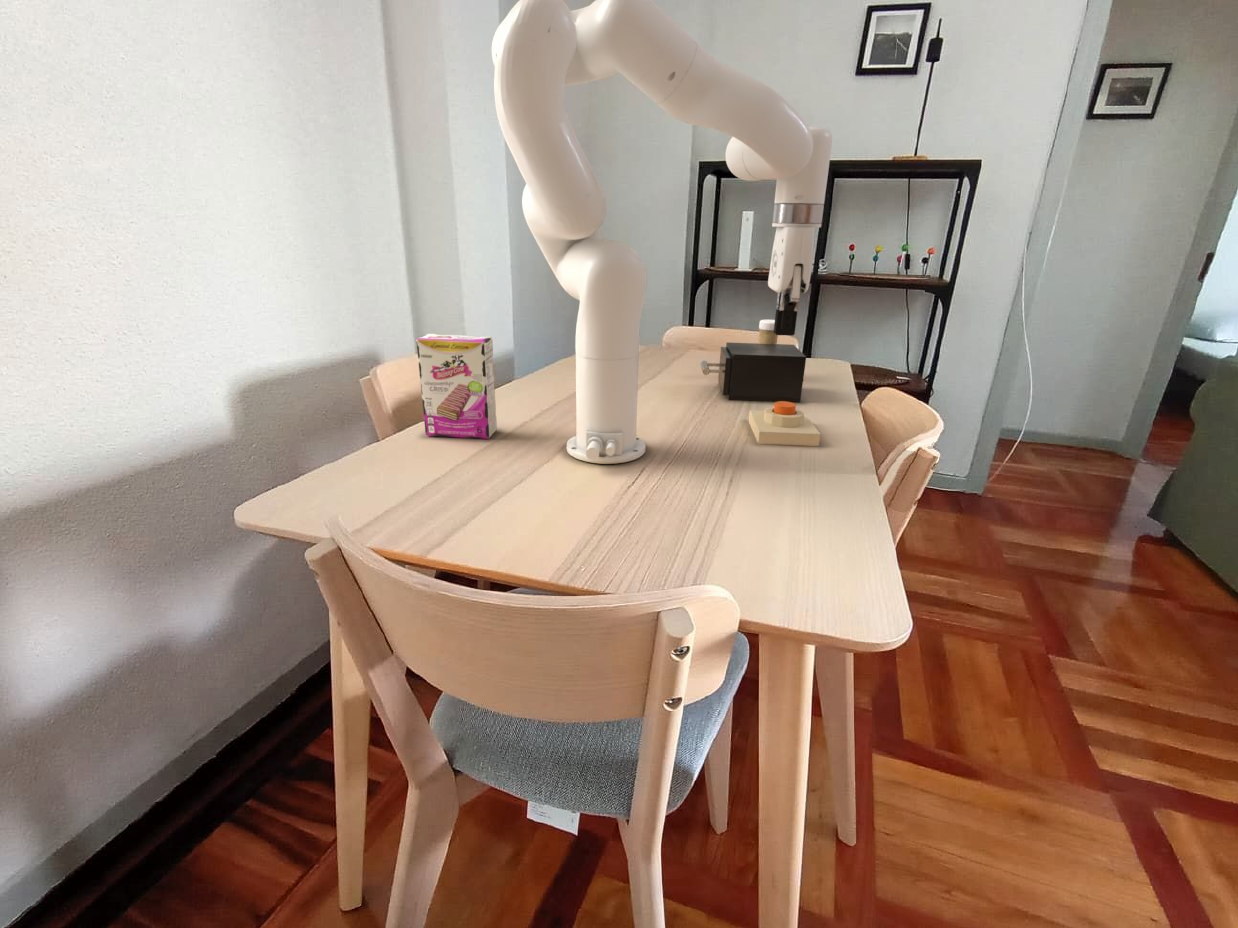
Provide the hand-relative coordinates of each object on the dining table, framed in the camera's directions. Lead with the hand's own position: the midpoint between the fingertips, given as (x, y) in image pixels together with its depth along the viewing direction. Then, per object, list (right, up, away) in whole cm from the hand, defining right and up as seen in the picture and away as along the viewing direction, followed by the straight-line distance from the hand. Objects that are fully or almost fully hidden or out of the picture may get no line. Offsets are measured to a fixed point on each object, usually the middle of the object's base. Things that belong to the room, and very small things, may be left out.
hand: (783, 334), depth 103 cm
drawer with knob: (-1, -6, +28) cm, 29 cm away
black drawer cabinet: (+2, -7, +28) cm, 29 cm away
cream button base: (+1, -17, +4) cm, 17 cm away
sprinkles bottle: (+6, -2, +41) cm, 42 cm away
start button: (+1, -13, +3) cm, 14 cm away
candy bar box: (-55, -17, +1) cm, 57 cm away
